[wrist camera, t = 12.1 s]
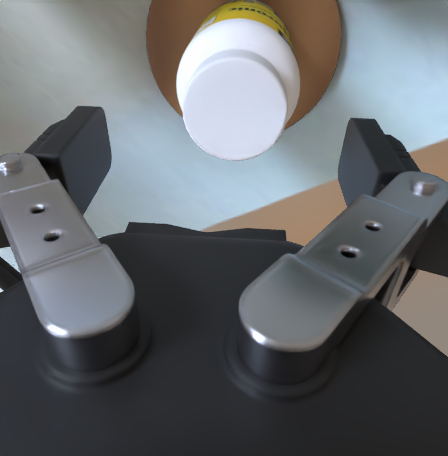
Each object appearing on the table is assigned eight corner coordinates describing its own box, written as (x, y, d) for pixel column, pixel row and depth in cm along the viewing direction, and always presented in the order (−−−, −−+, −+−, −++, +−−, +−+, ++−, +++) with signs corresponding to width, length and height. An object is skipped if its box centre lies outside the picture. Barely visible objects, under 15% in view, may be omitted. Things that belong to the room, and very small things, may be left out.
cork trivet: (156, 132, 27) (154, 135, 26) (137, -74, 20) (135, -74, 20) (322, 140, 26) (323, 144, 26) (359, -68, 20) (361, -68, 19)
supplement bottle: (311, 44, 22) (339, 108, 15) (247, 115, 25) (241, 201, 17) (237, -30, 20) (223, -1, 13) (177, 56, 23) (135, 123, 15)
